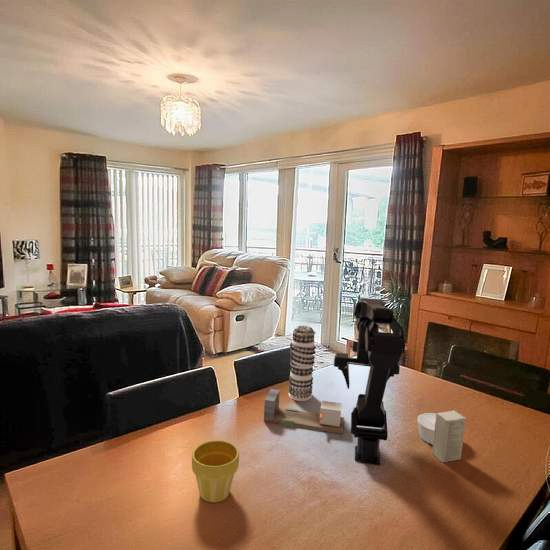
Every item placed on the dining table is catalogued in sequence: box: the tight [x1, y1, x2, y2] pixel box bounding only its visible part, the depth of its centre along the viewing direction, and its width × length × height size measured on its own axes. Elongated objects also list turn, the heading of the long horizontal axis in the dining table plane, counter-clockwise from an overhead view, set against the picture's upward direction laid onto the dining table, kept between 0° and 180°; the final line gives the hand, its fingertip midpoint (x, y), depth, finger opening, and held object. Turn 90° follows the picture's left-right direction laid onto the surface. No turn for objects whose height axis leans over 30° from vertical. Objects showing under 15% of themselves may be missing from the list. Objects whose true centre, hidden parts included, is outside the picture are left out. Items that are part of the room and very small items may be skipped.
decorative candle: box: [287, 325, 317, 402], centre depth 134 cm, size 9×9×25 cm
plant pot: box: [191, 439, 240, 504], centre depth 86 cm, size 10×10×10 cm
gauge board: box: [263, 388, 345, 435], centre depth 118 cm, size 9×24×7 cm, turn 77°
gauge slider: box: [319, 400, 343, 427], centre depth 115 cm, size 8×6×5 cm
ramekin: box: [416, 412, 437, 446], centre depth 112 cm, size 11×11×5 cm
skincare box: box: [431, 409, 467, 463], centre depth 103 cm, size 6×4×12 cm
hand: (363, 390), depth 115 cm, fingers open, 9 cm apart
